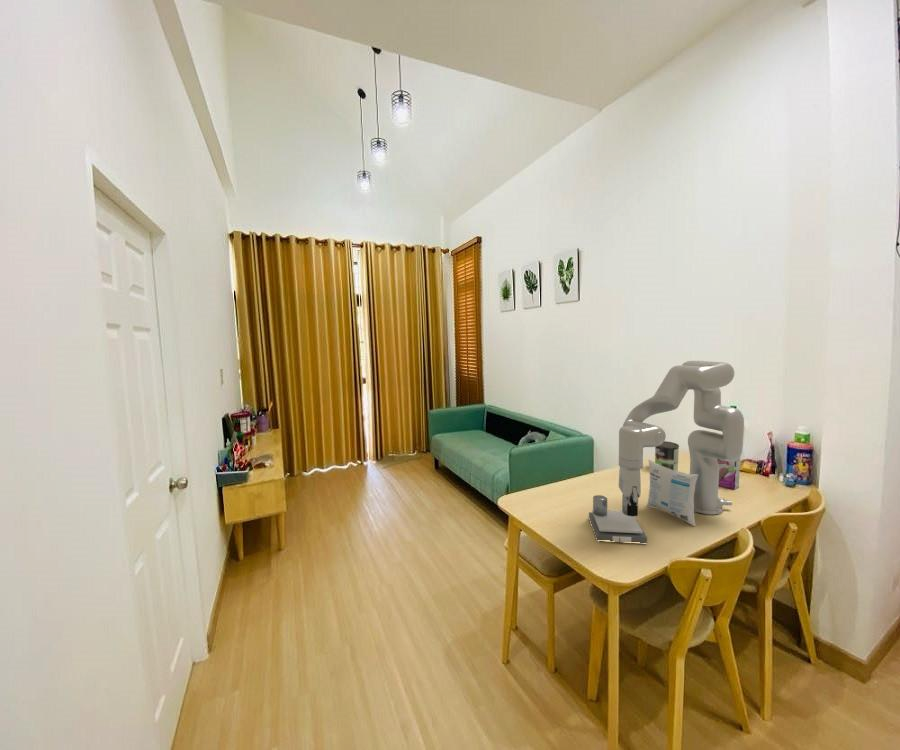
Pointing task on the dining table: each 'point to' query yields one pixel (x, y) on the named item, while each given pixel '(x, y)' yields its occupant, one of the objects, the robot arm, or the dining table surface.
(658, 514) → the dining table surface
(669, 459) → the coffee can
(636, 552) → the dining table surface
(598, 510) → the cylinder
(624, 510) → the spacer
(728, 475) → the candy bar box
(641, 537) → the scale
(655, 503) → the pouch
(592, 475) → the dining table surface
